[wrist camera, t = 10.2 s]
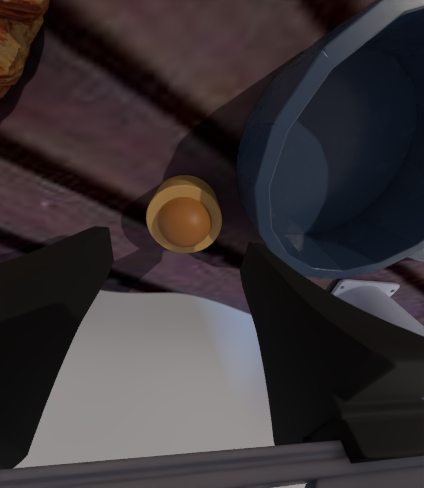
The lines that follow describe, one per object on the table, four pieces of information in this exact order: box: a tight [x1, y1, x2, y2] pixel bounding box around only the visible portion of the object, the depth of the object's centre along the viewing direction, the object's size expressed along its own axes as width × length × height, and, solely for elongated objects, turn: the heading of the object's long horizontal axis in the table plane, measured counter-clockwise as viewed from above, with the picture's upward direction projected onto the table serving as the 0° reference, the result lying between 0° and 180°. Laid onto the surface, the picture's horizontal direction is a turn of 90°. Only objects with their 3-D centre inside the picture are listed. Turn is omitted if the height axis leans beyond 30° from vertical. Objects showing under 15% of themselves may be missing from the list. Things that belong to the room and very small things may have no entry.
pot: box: [236, 0, 424, 279], centre depth 12 cm, size 14×14×5 cm
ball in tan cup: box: [146, 175, 222, 253], centre depth 13 cm, size 5×5×4 cm
